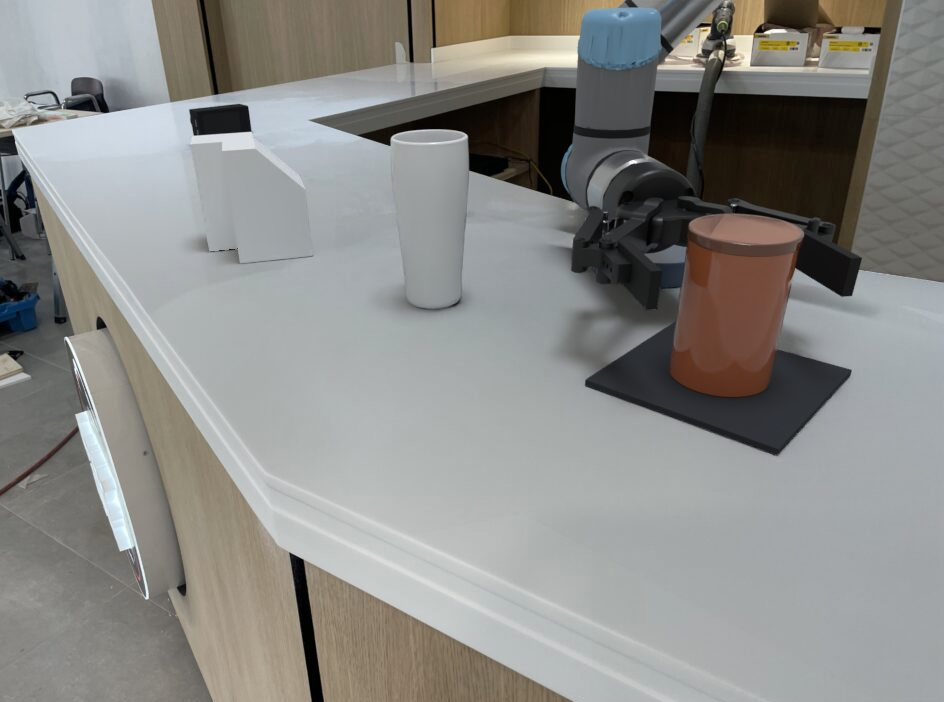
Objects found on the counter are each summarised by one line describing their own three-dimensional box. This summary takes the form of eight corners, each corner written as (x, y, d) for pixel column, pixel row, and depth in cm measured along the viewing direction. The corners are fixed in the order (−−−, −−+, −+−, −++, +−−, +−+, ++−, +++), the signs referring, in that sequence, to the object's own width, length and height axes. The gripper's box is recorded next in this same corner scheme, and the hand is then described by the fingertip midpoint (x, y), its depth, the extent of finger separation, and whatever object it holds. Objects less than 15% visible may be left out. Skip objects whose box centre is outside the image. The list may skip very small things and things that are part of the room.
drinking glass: (389, 311, 67) (379, 142, 60) (408, 285, 73) (401, 128, 66) (461, 316, 66) (460, 144, 59) (475, 289, 71) (475, 129, 64)
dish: (730, 264, 76) (734, 241, 75) (675, 297, 68) (679, 272, 67) (627, 242, 83) (630, 220, 82) (567, 269, 76) (569, 246, 74)
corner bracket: (210, 238, 89) (191, 135, 83) (303, 229, 91) (292, 128, 85) (208, 266, 79) (188, 153, 74) (312, 255, 82) (300, 145, 76)
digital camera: (242, 139, 149) (237, 102, 145) (253, 142, 145) (248, 105, 141) (193, 145, 143) (186, 108, 140) (203, 149, 139) (196, 111, 136)
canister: (786, 371, 54) (820, 225, 49) (746, 409, 49) (779, 252, 44) (694, 344, 58) (716, 207, 53) (649, 376, 54) (668, 230, 48)
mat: (850, 375, 54) (852, 369, 54) (777, 455, 45) (778, 449, 45) (674, 326, 63) (675, 320, 62) (584, 385, 54) (585, 379, 54)
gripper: (763, 234, 70) (915, 323, 51) (505, 250, 68) (565, 348, 49) (779, 153, 66) (948, 217, 47) (507, 167, 64) (573, 239, 46)
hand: (754, 284), depth 48 cm, fingers open, 13 cm apart
